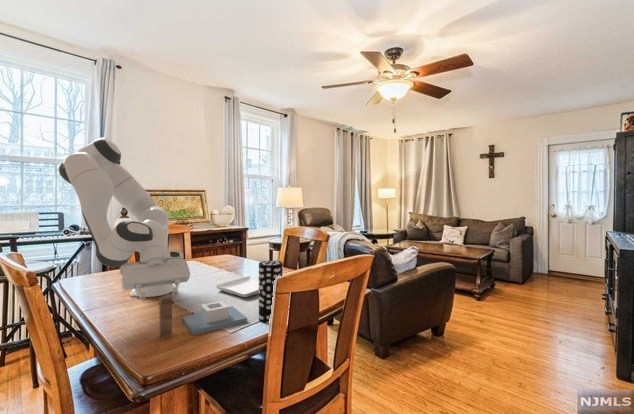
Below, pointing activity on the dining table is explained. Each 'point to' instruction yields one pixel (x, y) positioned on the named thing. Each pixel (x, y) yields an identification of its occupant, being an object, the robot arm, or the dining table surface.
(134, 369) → the dining table surface
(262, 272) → the white-spotted black cylinder
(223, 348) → the dining table surface
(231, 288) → the salad plate
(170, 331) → the brown wooden peg
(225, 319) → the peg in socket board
